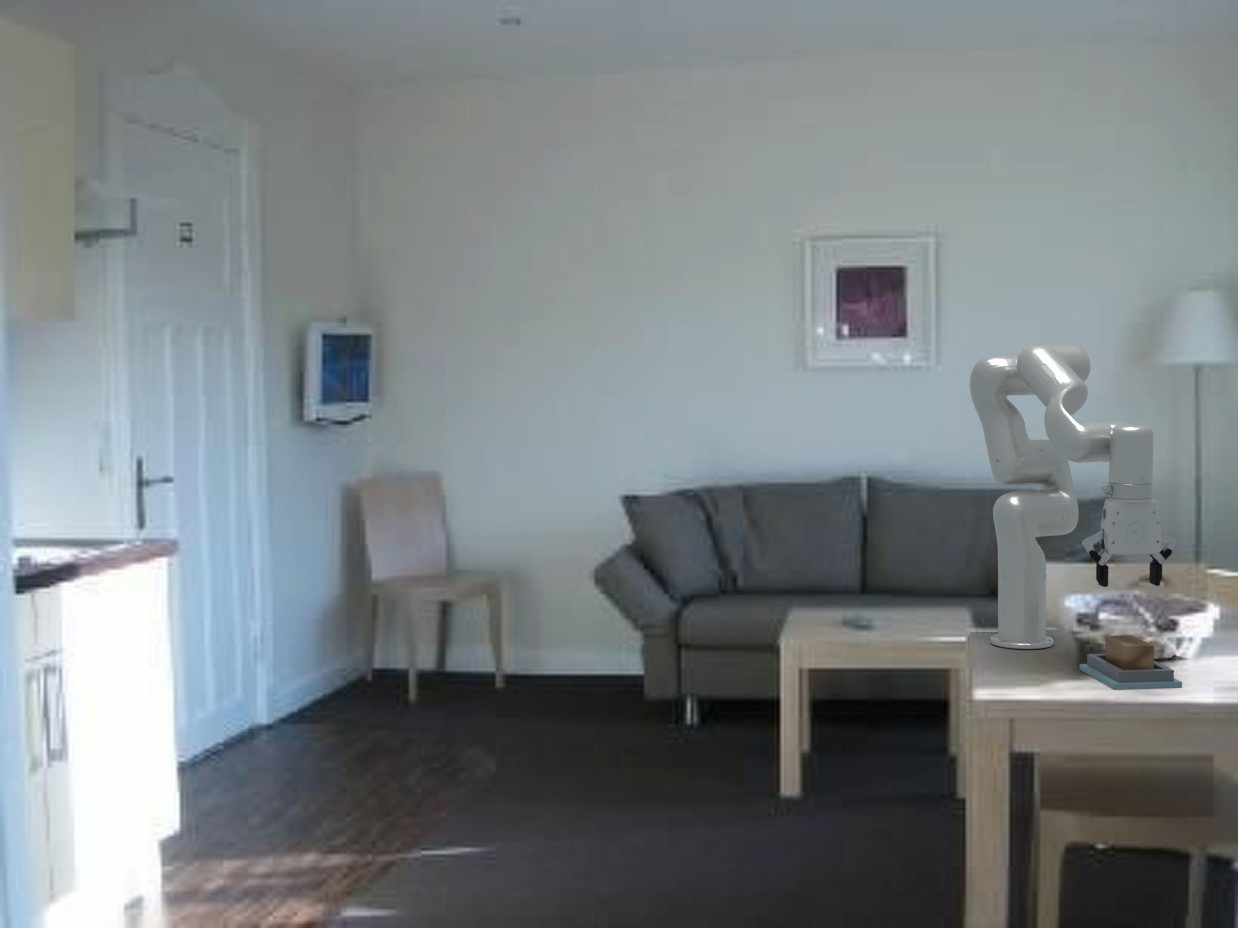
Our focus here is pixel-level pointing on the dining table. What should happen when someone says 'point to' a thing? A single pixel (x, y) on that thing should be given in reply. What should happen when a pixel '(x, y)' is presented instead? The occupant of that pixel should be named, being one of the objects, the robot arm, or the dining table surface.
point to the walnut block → (1129, 652)
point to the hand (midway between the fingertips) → (1128, 585)
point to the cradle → (1129, 675)
